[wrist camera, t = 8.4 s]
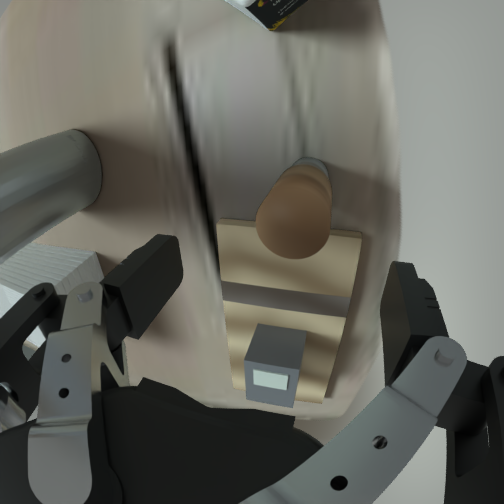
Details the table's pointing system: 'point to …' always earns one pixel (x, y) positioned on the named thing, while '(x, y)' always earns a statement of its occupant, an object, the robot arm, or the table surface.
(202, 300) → the table surface
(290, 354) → the block
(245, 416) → the robot arm
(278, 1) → the medicine bottle
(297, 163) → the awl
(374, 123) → the table surface
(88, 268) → the white rectangular block
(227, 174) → the table surface
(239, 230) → the board
